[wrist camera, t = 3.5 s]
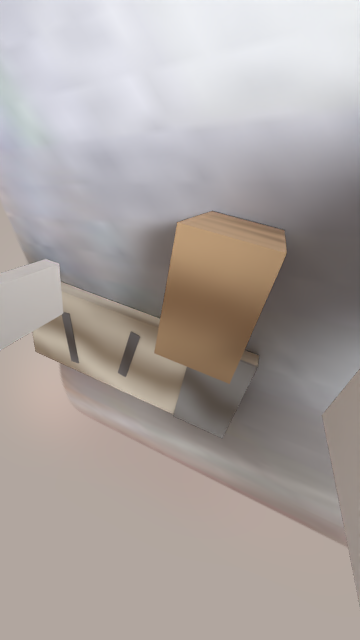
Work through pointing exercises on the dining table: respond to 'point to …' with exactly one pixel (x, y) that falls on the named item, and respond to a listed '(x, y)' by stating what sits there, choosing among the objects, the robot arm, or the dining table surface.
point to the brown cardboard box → (217, 290)
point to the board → (138, 360)
